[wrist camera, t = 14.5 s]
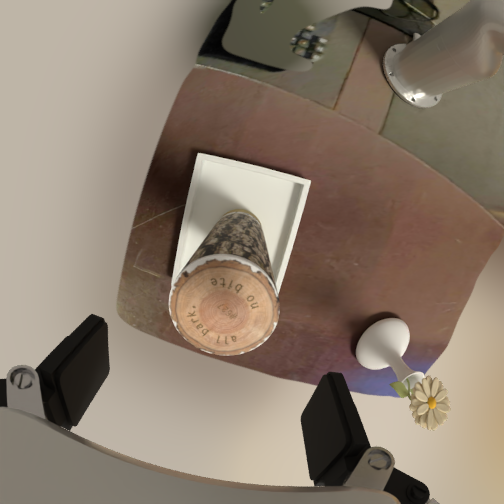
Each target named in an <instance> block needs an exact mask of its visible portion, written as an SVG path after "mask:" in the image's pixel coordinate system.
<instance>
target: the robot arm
mask: <svg viewBox="0 0 504 504" xmlns="http://www.w3.org/2000/svg"><path fill="white" fill-rule="evenodd" d="M503 55H504V0H470V1H469V2H468V3H467V4H466V5H465V6H463V7H462V8H461V9H459V10H458V11H457V12H455V13H454V14H452V15H451V16H449V17H448V18H446V19H445V20H444V21H442V22H441V23H439V24H438V25H436V26H435V27H433V28H432V29H431V30H429V31H428V32H426V33H425V34H423V35H422V36H420V35H419V34H417V33H414V34H413V41H412V42H410V43H409V44H395V45H393V46H391V47H390V48H389V49H388V50H387V51H386V52H385V54H384V57H383V69H384V73H385V76H386V78H387V81H388V82H389V84H390V86H391V87H392V89H393V90H394V91H395V92H396V93H397V94H398V95H399V97H400V98H402V99H403V100H404V101H405V102H407V103H409V104H410V105H413V106H415V107H418V108H428V107H432V106H434V105H436V104H437V103H438V102H439V100H440V99H441V96H442V93H445V92H448V91H451V90H454V89H457V88H460V87H463V86H466V85H469V84H472V83H475V82H479V81H482V80H485V79H489V78H491V77H493V76H494V75H495V74H496V73H497V72H498V70H499V68H500V66H501V62H502V58H503ZM109 370H110V367H109V351H108V325H107V323H106V322H105V321H104V318H102V317H99V316H96V315H93V314H91V315H90V316H89V317H88V318H86V320H85V321H83V322H82V323H81V325H79V327H77V328H76V329H75V330H74V331H73V332H72V333H71V334H70V335H69V336H67V337H66V338H65V339H64V340H63V341H62V342H61V343H60V344H59V345H58V346H57V347H56V348H55V349H54V350H53V351H52V352H51V353H50V354H49V355H48V356H47V357H46V359H45V360H43V362H42V363H41V364H40V365H39V366H38V367H37V368H36V369H35V370H34V369H33V368H32V367H29V366H26V365H19V366H15V367H13V368H12V369H11V370H9V372H8V374H7V378H6V379H0V504H439V503H438V502H437V501H436V500H435V499H434V498H433V499H431V500H430V499H429V495H430V494H429V490H428V487H427V486H426V485H425V484H424V483H422V482H420V481H418V480H416V479H414V478H413V477H410V476H409V475H407V474H405V473H403V472H401V471H400V470H397V469H396V468H394V464H395V460H394V457H393V455H392V454H391V453H390V452H389V451H388V450H386V449H384V448H382V447H371V446H370V443H369V441H368V438H367V435H366V432H365V430H364V427H363V424H362V422H361V419H360V416H359V414H358V411H357V408H356V406H355V404H354V402H353V399H352V397H351V394H350V392H349V389H348V387H347V384H346V381H345V379H344V376H343V374H342V373H336V372H328V373H327V375H323V377H322V378H321V380H320V382H319V384H318V386H317V388H316V390H315V392H314V393H313V395H312V397H311V399H310V401H309V402H308V404H307V406H306V408H305V409H304V411H303V413H302V415H301V425H302V431H303V437H304V444H305V449H306V455H307V462H308V469H309V476H310V479H311V480H314V486H319V487H294V486H268V485H256V484H246V483H238V482H230V481H223V480H217V479H211V478H206V477H201V476H195V475H191V474H187V473H182V472H178V471H174V470H171V469H167V468H163V467H160V466H156V465H153V464H149V463H146V462H143V461H140V460H137V459H134V458H131V457H129V456H126V455H123V454H120V453H118V452H115V451H113V450H110V449H108V448H105V447H103V446H101V445H98V444H96V443H94V442H91V441H89V440H87V439H85V438H82V437H80V436H78V435H76V434H74V433H72V432H70V430H71V428H72V426H77V425H78V423H79V421H80V419H81V418H82V416H83V415H84V413H85V411H86V410H87V408H88V406H89V405H90V403H91V401H92V400H93V398H94V396H95V395H96V393H97V392H98V390H99V389H100V387H101V385H102V384H103V382H104V381H105V379H106V378H107V376H108V374H109ZM62 427H63V428H62ZM64 428H65V429H64ZM66 429H67V430H66ZM68 430H69V431H68Z"/></svg>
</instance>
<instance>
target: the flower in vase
mask: <svg viewBox="0 0 504 504" xmlns="http://www.w3.org/2000/svg"><path fill="white" fill-rule="evenodd" d="M409 338H410V334H409V329H408V326H407V325H406V323H405V322H404V321H402V320H400V319H397V318H387V319H383V320H380V321H378V322H376V323H374V324H373V325H371V326H370V327H369V328H368V329H367V330H366V331H365V332H364V333H363V335H362V336H361V338H360V340H359V342H358V344H357V348H356V357H357V360H358V362H359V363H360V364H361V365H362V366H364V367H366V368H368V369H382V368H386V367H388V366H391V367H392V369H393V370H394V372H395V373H396V376H397V378H398V381H397V382H393V383H391V384H390V386H392V387H393V388H394V389H395V391H396V392H397V393H398V395H399V396H400V397H401V398H404V397H406V396H408V397H409V399H410V400H411V404H410V406H409V408H410V410H411V411H413V413H412V416H413V418H415V423H416V424H417V425H418V424H420V426H422V427H423V428H424V429H425V428H426V427H427V429H428V430H431V429H432V430H433V431H435V430H436V429H437V427H438V424H439V425H441V426H442V425H443V424H444V421H447V419H448V417H447V414H446V413H448V412H450V410H451V409H450V407H449V404H450V401H449V400H448V397H447V396H446V395H447V393H448V391H447V389H443V385H442V382H441V381H439V380H438V378H434V380H433V381H432V378H431V377H430V376H427V377H426V378H424V374H423V373H422V372H416V371H413V370H411V369H410V368H409V367H408V366H407V365H406V364H405V363H404V362H403V360H402V358H401V356H402V355H403V354H404V352H405V350H406V348H407V346H408V343H409ZM410 394H412V395H411V396H410Z"/></svg>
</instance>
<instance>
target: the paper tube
mask: <svg viewBox="0 0 504 504" xmlns="http://www.w3.org/2000/svg"><path fill="white" fill-rule="evenodd" d="M279 309H280V308H279V297H278V292H277V288H276V284H275V279H274V275H273V271H272V267H271V262H270V258H269V254H268V250H267V245H266V241H265V237H264V233H263V229H262V226H261V223H260V221H259V219H258V218H257V217H256V216H255V215H254V214H253V213H251V212H249V211H247V210H243V209H235V210H231V211H229V212H227V213H225V214H224V215H223V216H222V217H221V218H220V219H219V220H218V222H217V223H216V224H215V226H214V227H213V228H212V230H211V231H210V232H209V234H208V235H207V236H206V238H205V239H204V240H203V242H202V243H201V244H200V246H199V247H198V249H197V250H196V251H195V253H194V254H193V255H192V257H191V258H190V260H189V261H188V262H187V264H186V265H185V266H184V268H183V269H182V271H181V272H180V273H179V275H178V276H177V278H176V280H175V282H174V284H173V286H172V288H171V291H170V296H169V311H170V315H171V318H172V321H173V323H174V325H175V327H176V329H177V330H178V332H179V333H180V334H181V335H182V336H183V337H184V338H185V339H186V340H187V341H188V342H189V343H191V344H192V345H193V346H195V347H197V348H199V349H201V350H203V351H205V352H208V353H212V354H216V355H238V354H242V353H245V352H248V351H251V350H253V349H255V348H256V347H258V346H260V345H261V344H262V343H263V342H265V341H266V340H267V339H268V338H269V336H270V335H271V334H272V332H273V331H274V329H275V327H276V324H277V321H278V318H279Z"/></svg>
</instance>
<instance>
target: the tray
mask: <svg viewBox="0 0 504 504" xmlns="http://www.w3.org/2000/svg"><path fill="white" fill-rule="evenodd" d="M310 183H311V181H310V180H307V179H303V178H300V177H296V176H293V175H289V174H286V173H282V172H278V171H275V170H271V169H267V168H263V167H259V166H255V165H251V164H247V163H243V162H239V161H234V160H230V159H226V158H221V157H217V156H212V155H207V154H202V153H198V155H197V159H196V163H195V167H194V171H193V175H192V180H191V184H190V188H189V193H188V197H187V202H186V207H185V212H184V216H183V221H182V226H181V232H180V237H179V242H178V248H177V253H176V259H175V265H174V271H173V277H172V284H171V286H173V284H174V282H175V280H176V278H177V276H178V275H179V273H180V272H181V271H182V269H183V268H184V266H185V265H186V264H187V262H188V261H189V260H190V258H191V257H192V255H193V254H194V253H195V251H196V250H197V249H198V247H199V246H200V244H201V243H202V242H203V240H204V239H205V238H206V236H207V235H208V234H209V232H210V231H211V230H212V228H213V227H214V226H215V224H216V223H217V222H218V220H219V219H220V218H221V217H222V216H223V215H224V214H225V213H227V212H229V211H231V210H235V209H243V210H247V211H249V212H251V213H253V214H254V215H255V216H256V217H257V218H258V219H259V221H260V223H261V226H262V229H263V233H264V237H265V241H266V245H267V250H268V254H269V258H270V262H271V267H272V271H273V275H274V279H275V284H276V288H277V292H278V293H279V290H280V287H281V283H282V280H283V277H284V274H285V270H286V267H287V264H288V261H289V257H290V254H291V250H292V247H293V244H294V240H295V237H296V233H297V230H298V226H299V223H300V219H301V216H302V212H303V209H304V205H305V201H306V198H307V194H308V190H309V187H310Z"/></svg>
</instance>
